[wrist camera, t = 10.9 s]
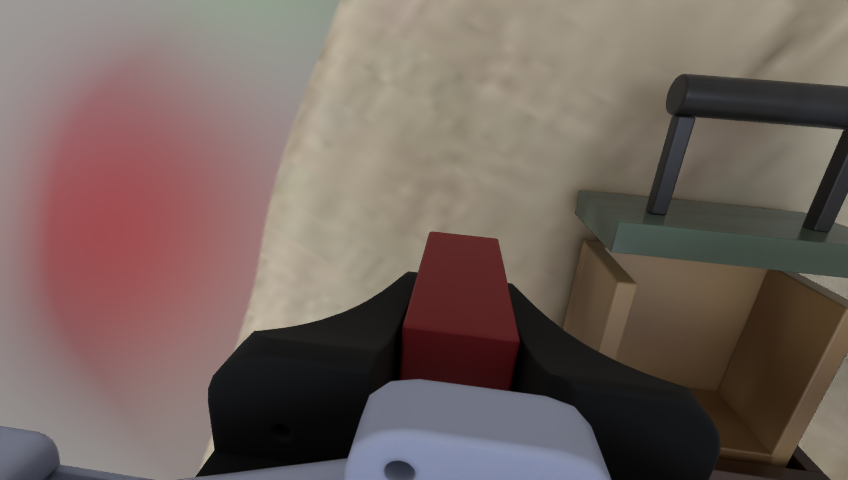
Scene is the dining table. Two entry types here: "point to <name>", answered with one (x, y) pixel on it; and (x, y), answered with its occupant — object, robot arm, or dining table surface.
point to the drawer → (724, 277)
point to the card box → (460, 316)
